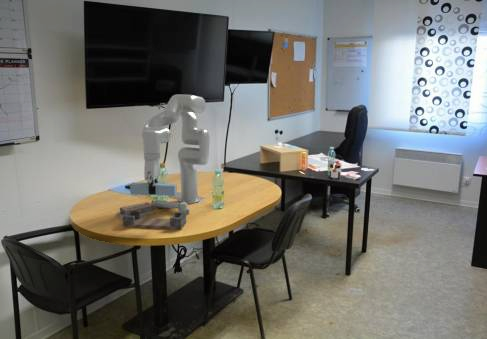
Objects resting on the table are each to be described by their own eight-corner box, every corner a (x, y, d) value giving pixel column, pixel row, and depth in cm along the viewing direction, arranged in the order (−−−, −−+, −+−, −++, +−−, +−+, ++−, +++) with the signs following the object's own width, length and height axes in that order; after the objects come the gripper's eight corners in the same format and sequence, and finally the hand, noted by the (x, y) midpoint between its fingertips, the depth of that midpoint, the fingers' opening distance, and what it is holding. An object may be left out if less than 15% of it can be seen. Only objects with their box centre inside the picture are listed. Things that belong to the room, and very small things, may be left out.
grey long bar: (156, 198, 241) (190, 200, 227) (157, 210, 242) (192, 212, 228) (149, 201, 236) (184, 202, 223) (151, 212, 237) (185, 215, 224)
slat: (130, 194, 207) (130, 184, 206) (133, 191, 211) (133, 182, 210) (174, 196, 205) (174, 186, 204) (177, 193, 209) (176, 183, 207)
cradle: (123, 227, 208) (122, 216, 207) (130, 219, 218) (130, 209, 217) (181, 229, 205) (181, 218, 204) (186, 222, 215) (185, 212, 214)
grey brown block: (147, 200, 236) (155, 205, 228) (148, 208, 237) (155, 213, 229) (115, 206, 226) (122, 211, 218) (116, 214, 227) (122, 220, 219)
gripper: (149, 152, 212) (151, 187, 216) (138, 159, 196) (140, 197, 200) (164, 152, 211) (166, 188, 215) (154, 159, 195) (156, 198, 199)
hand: (153, 192), depth 208 cm, fingers closed on slat, 4 cm apart
